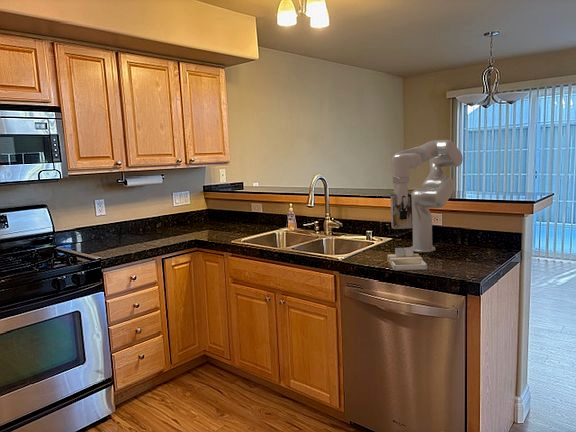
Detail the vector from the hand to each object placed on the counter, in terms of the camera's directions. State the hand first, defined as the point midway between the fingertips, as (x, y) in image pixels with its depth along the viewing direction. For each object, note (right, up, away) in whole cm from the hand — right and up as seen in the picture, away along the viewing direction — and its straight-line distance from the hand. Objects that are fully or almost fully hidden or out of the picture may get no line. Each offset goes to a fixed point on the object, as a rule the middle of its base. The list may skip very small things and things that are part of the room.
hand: (401, 217), depth 211 cm
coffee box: (0, -5, +1) cm, 5 cm away
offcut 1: (-2, -18, -6) cm, 19 cm away
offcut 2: (+2, -18, -6) cm, 19 cm away
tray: (-1, -22, -16) cm, 27 cm away
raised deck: (0, -21, -7) cm, 22 cm away
